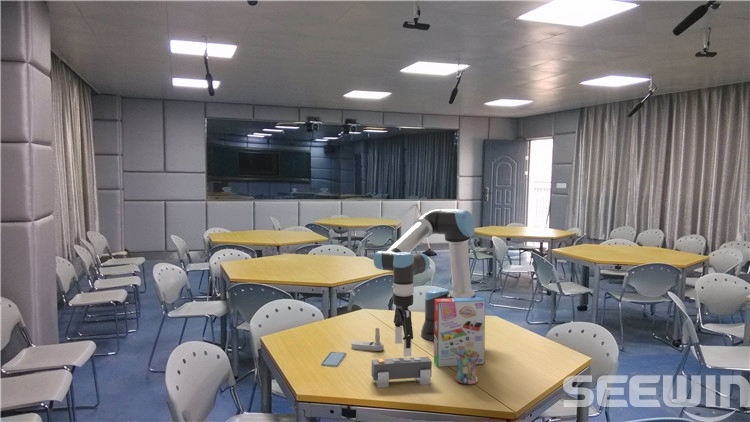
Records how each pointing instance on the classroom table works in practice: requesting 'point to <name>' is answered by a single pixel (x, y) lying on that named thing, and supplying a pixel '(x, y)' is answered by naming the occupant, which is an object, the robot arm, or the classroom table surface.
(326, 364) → the smartphone
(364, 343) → the electronic device
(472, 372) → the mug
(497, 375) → the classroom table surface
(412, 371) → the power strip
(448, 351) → the game box
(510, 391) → the classroom table surface
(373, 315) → the classroom table surface
